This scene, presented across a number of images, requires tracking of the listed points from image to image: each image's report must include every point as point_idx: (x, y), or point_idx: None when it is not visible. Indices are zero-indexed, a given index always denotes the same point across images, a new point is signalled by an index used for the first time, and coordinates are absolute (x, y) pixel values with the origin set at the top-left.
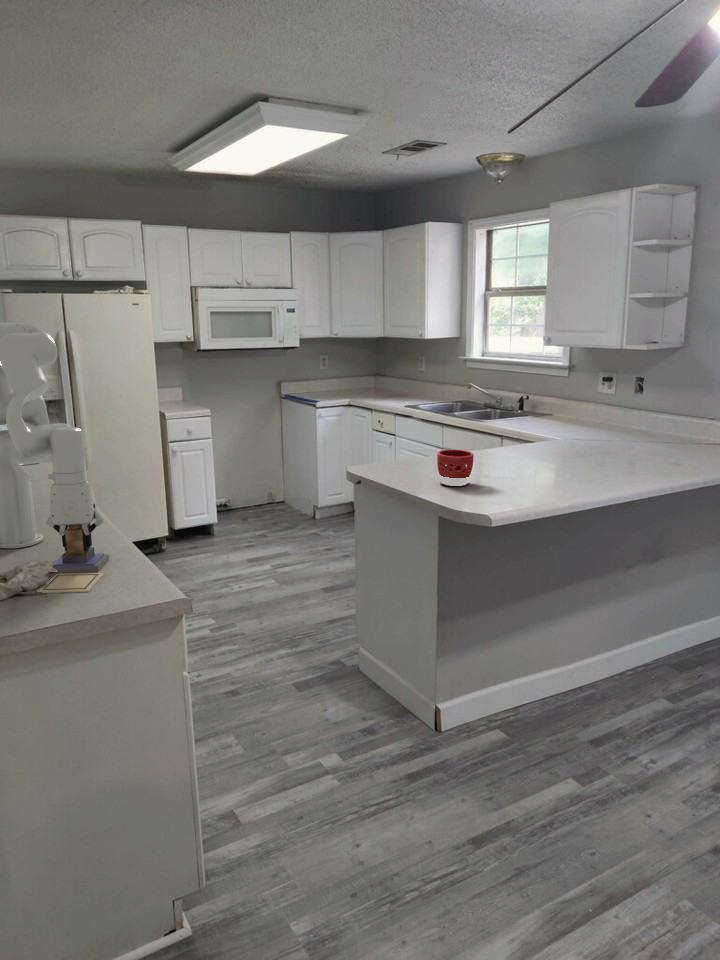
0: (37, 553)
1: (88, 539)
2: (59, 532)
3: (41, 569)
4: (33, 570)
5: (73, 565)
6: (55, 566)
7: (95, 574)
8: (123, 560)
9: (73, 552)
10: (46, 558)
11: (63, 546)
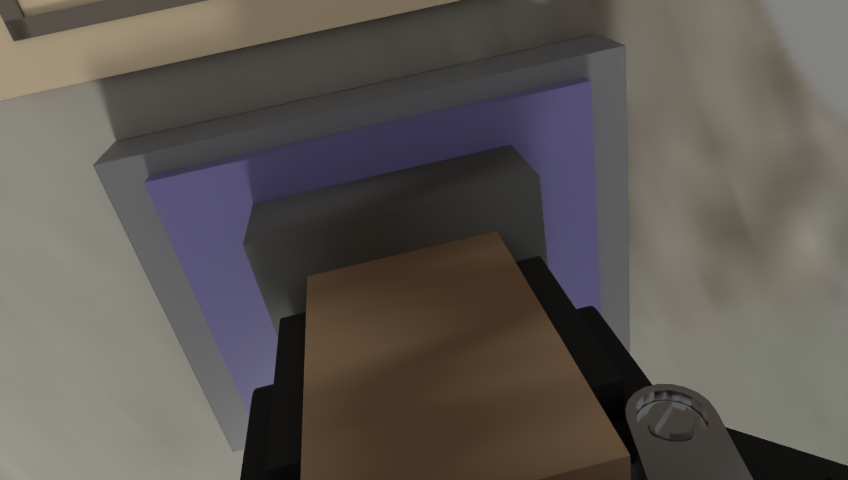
0: (831, 409)
1: (255, 450)
2: (721, 421)
3: (700, 122)
4: (761, 87)
5: (372, 124)
6: (554, 71)
7: (33, 14)
8: (110, 429)
9: (426, 255)
10: (743, 346)
11: (585, 308)
